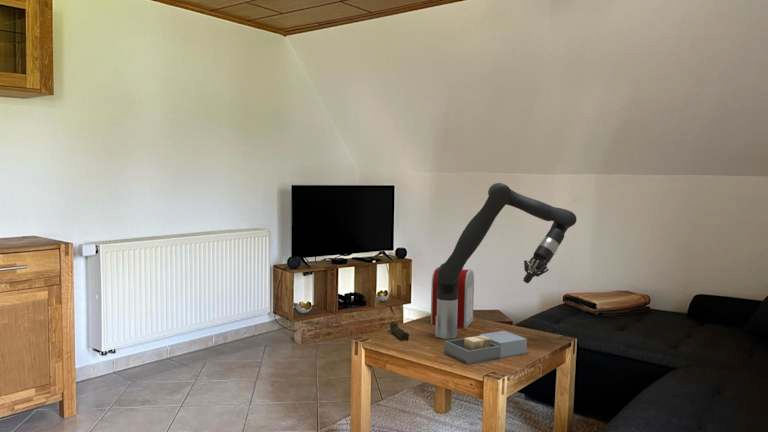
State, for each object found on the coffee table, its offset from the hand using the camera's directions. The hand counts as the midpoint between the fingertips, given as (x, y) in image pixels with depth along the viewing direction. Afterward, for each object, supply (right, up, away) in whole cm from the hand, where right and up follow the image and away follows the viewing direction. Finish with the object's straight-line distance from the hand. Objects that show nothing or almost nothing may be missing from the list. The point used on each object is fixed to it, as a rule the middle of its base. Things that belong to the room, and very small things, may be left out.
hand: (525, 282), depth 256 cm
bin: (-25, -28, -13) cm, 40 cm away
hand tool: (-55, -26, +15) cm, 62 cm away
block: (-19, -24, -11) cm, 32 cm away
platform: (-11, -28, -6) cm, 31 cm away
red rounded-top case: (-27, -25, +41) cm, 54 cm away
